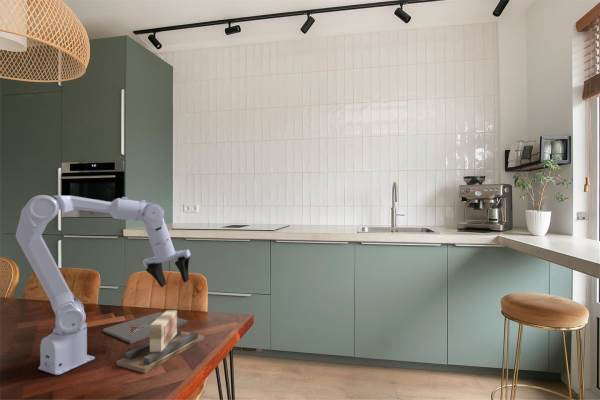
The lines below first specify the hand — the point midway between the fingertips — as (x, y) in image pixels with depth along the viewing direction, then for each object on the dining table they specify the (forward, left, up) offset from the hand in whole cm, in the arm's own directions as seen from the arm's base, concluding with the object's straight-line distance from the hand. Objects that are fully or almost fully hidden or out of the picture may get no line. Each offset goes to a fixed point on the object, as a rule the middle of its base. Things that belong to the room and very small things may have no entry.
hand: (175, 283), depth 102 cm
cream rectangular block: (-8, -3, -14) cm, 17 cm away
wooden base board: (-8, -3, -17) cm, 19 cm away
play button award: (+3, +16, -18) cm, 24 cm away
